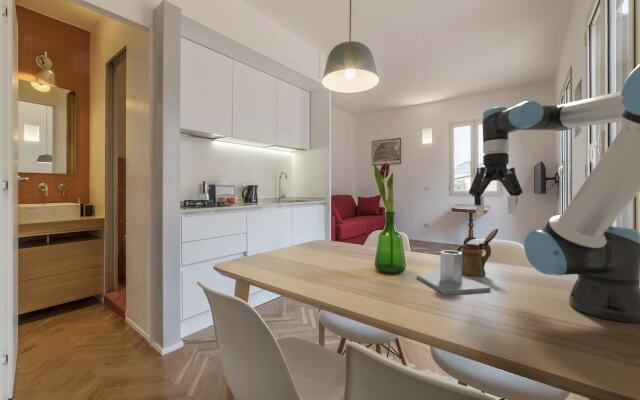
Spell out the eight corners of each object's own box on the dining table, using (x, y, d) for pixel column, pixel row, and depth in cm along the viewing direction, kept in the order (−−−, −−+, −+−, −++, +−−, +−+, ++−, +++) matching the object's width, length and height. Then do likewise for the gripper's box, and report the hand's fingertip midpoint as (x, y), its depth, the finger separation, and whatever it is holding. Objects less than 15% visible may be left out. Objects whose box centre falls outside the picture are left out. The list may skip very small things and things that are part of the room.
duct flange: (490, 291, 92) (490, 266, 92) (445, 294, 89) (445, 269, 89) (455, 275, 110) (455, 254, 109) (416, 277, 107) (416, 256, 107)
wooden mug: (501, 278, 105) (501, 230, 104) (460, 275, 109) (460, 229, 109) (495, 272, 113) (495, 227, 113) (457, 269, 118) (457, 226, 117)
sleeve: (453, 277, 103) (453, 249, 103) (466, 282, 97) (466, 253, 96) (437, 278, 102) (437, 250, 102) (448, 284, 96) (448, 254, 95)
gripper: (514, 156, 105) (515, 213, 105) (457, 154, 99) (458, 215, 99) (534, 152, 98) (535, 214, 98) (473, 150, 92) (474, 216, 92)
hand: (496, 214), depth 98 cm, fingers open, 13 cm apart
